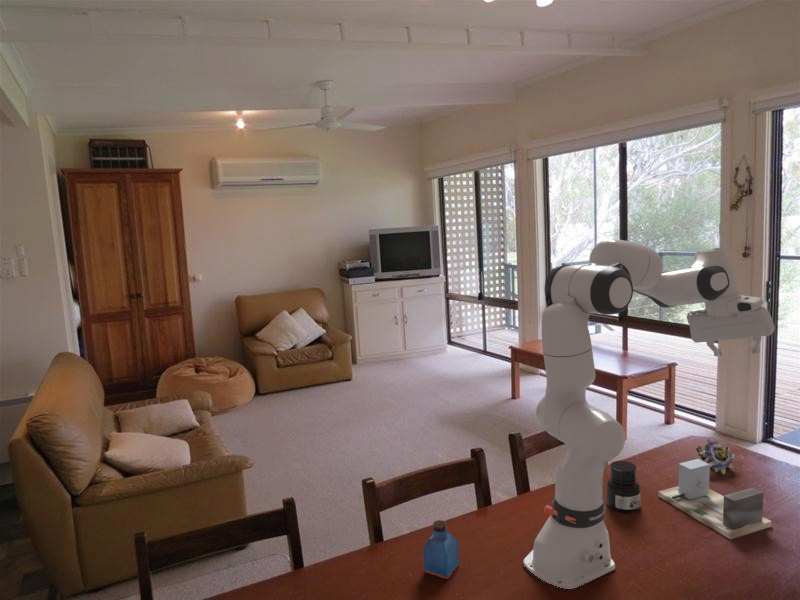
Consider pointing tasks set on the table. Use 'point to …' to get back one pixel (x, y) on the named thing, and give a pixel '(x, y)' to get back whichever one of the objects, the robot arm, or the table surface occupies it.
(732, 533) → the bench
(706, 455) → the passion flower
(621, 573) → the table surface
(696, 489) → the gauge slider
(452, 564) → the perfume bottle
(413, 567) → the table surface
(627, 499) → the ink bottle
